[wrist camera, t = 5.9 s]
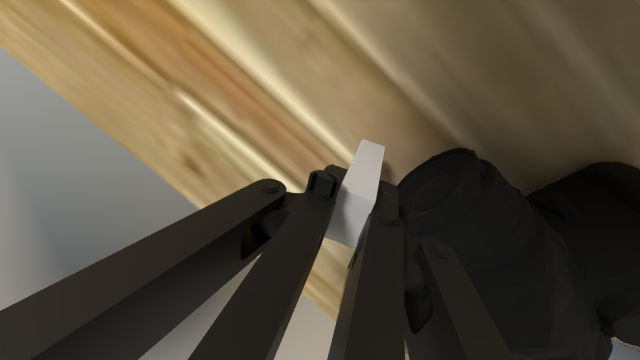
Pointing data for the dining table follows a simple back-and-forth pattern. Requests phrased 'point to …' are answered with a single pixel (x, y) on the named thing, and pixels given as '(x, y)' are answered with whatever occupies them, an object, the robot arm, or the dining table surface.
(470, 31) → the dining table surface
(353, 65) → the dining table surface
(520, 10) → the dining table surface
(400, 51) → the dining table surface
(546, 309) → the film camera
